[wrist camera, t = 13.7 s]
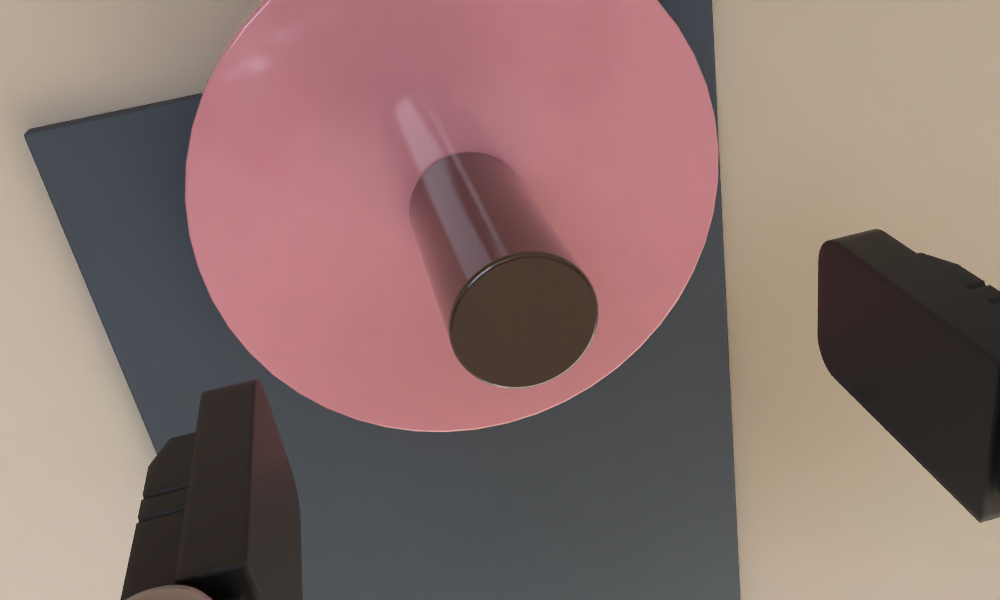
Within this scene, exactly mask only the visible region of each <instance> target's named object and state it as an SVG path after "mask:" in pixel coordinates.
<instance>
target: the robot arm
mask: <svg viewBox="0 0 1000 600" xmlns="http://www.w3.org/2000/svg"><path fill="white" fill-rule="evenodd" d="M818 343H819V348H820V352H821V355H822V358H823V361H824V363H825V365H826V367H827V369H828V371H829V372H830V373H831V375H832V376H833V377H834V378H835V379H836V380H837V381H838V382H839V383H840V384H841V385H842V386H843V387H844V388H845V389H846V390H847V391H848V392H849V393H850V394H851V395H852V396H853V397H854V398H855V399H856V400H857V401H858V402H859V403H860V404H861V405H862V406H863V407H864V408H865V409H866V410H867V411H868V412H869V413H870V414H871V415H872V416H873V417H874V418H875V419H876V420H877V421H878V422H879V423H880V424H881V425H882V426H883V427H884V428H885V429H886V430H887V431H888V432H889V433H890V434H891V435H892V436H893V437H894V438H895V439H896V440H897V441H898V442H899V443H900V444H901V445H902V446H903V447H904V448H905V449H906V450H907V451H908V452H909V453H910V454H911V455H912V456H913V457H914V458H915V459H916V460H917V461H918V462H919V463H920V464H921V465H922V466H923V467H924V468H925V469H926V470H927V471H928V472H929V473H930V474H931V475H932V476H933V477H934V478H935V479H936V480H937V481H938V482H939V483H940V484H941V485H942V486H943V487H944V488H945V489H946V490H947V491H948V492H949V493H950V494H951V495H952V496H953V497H954V498H955V499H957V500H958V501H959V502H960V503H961V504H962V505H963V506H964V507H965V508H966V509H967V510H968V511H969V512H970V513H971V514H972V515H973V516H974V517H975V518H976V519H977V520H978V521H979V522H980V523H981V522H984V521H988V520H991V519H995V518H998V517H1000V291H998V290H997V289H995V288H994V287H992V286H990V285H988V286H986V285H985V282H984V281H983V280H981V279H980V278H978V277H976V276H975V275H973V274H972V273H970V272H969V271H967V270H966V269H964V268H962V267H961V266H959V265H958V264H955V263H952V262H948V261H945V260H942V259H939V258H936V257H933V256H930V255H926V254H923V253H918V254H917V253H915V252H914V251H912V250H911V249H909V248H908V247H906V246H905V245H903V244H902V243H900V242H899V241H897V240H896V239H894V238H893V237H891V236H890V235H888V234H887V233H885V232H884V231H882V230H879V229H873V230H869V231H865V232H861V233H857V234H853V235H849V236H845V237H841V238H837V239H833V240H828V241H826V242H825V243H824V244H823V245H822V247H821V249H820V252H819V260H818ZM143 497H144V499H143V500H141V505H140V510H139V515H138V519H139V523H137V524H136V529H135V534H134V539H133V543H132V548H131V553H130V558H129V562H128V567H127V572H126V577H125V581H124V586H123V591H122V596H121V600H303V590H302V553H301V516H300V506H299V499H298V493H297V489H296V484H295V480H294V476H293V473H292V469H291V466H290V463H289V460H288V457H287V455H286V452H285V449H284V446H283V443H282V440H281V437H280V434H279V431H278V428H277V425H276V422H275V419H274V416H273V413H272V410H271V407H270V404H269V401H268V398H267V396H266V393H265V390H264V388H263V386H262V384H261V382H260V380H259V379H254V380H250V381H246V382H242V383H238V384H234V385H230V386H226V387H222V388H218V389H213V390H209V391H205V392H203V393H202V395H201V399H200V406H199V413H198V420H197V427H196V432H193V433H189V434H185V435H181V436H177V437H173V438H170V439H169V440H168V441H167V443H166V444H165V445H164V447H163V448H162V449H161V451H160V452H159V453H158V455H157V456H156V457H155V459H154V460H153V461H152V463H151V464H150V465H149V467H148V472H147V477H146V481H145V486H144V491H143Z"/></svg>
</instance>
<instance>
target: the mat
mask: <svg viewBox="0 0 1000 600" xmlns="http://www.w3.org/2000/svg"><path fill="white" fill-rule="evenodd" d="M658 1H659V2H660V4H661V5H662V6H663V7H664V9H665V10H666V11H667V13H668V14H669V15H670V16H671V18H672V19H673V20H674V21H675V23H676V24H677V25H678V27H679V29H680V30H681V32H682V34H683V36H684V37H685V39H686V41H687V42H688V44H689V46H690V47H691V49H692V51H693V53H694V55H695V57H696V59H697V62H698V64H699V67H700V69H701V72H702V74H703V77H704V79H705V81H706V84H707V87H708V91H709V95H710V99H711V103H712V107H713V111H714V115H715V122H716V130H717V139H718V119H717V98H716V77H715V56H714V35H713V14H712V0H658ZM202 94H203V93H201V94H196V95H191V96H186V97H181V98H177V99H172V100H167V101H162V102H157V103H153V104H148V105H143V106H138V107H133V108H129V109H124V110H119V111H114V112H109V113H105V114H100V115H95V116H90V117H85V118H81V119H76V120H71V121H66V122H61V123H57V124H52V125H47V126H42V127H37V128H33V129H29V130H28V131H27V132H26V133H25V134H24V137H25V139H26V142H27V144H28V146H29V149H30V151H31V154H32V156H33V158H34V161H35V163H36V166H37V168H38V170H39V173H40V175H41V178H42V180H43V182H44V185H45V187H46V190H47V192H48V194H49V197H50V199H51V202H52V204H53V206H54V209H55V211H56V213H57V216H58V218H59V221H60V223H61V225H62V228H63V230H64V233H65V235H66V237H67V240H68V242H69V245H70V247H71V249H72V252H73V254H74V257H75V259H76V261H77V264H78V266H79V269H80V271H81V273H82V276H83V278H84V280H85V283H86V285H87V288H88V290H89V292H90V295H91V297H92V300H93V302H94V304H95V307H96V309H97V312H98V314H99V316H100V319H101V321H102V324H103V326H104V328H105V331H106V333H107V336H108V338H109V340H110V343H111V345H112V347H113V350H114V352H115V355H116V357H117V359H118V362H119V364H120V367H121V369H122V371H123V374H124V376H125V379H126V381H127V383H128V386H129V388H130V391H131V393H132V395H133V398H134V400H135V403H136V405H137V407H138V410H139V412H140V414H141V417H142V419H143V422H144V424H145V426H146V429H147V431H148V434H149V436H150V438H151V441H152V443H153V446H154V448H155V450H156V453H157V455H158V453H159V452H160V451H161V449H162V448H163V447H164V445H165V444H166V443H167V441H168V440H169V439H170V438H173V437H177V436H181V435H185V434H189V433H193V432H196V427H197V420H198V413H199V406H200V399H201V395H202V393H203V392H205V391H209V390H213V389H218V388H222V387H226V386H230V385H234V384H238V383H242V382H246V381H250V380H254V379H259V380H260V382H261V384H262V386H263V388H264V390H265V393H266V396H267V398H268V401H269V404H270V407H271V410H272V413H273V416H274V419H275V422H276V425H277V428H278V431H279V434H280V437H281V440H282V443H283V446H284V449H285V452H286V455H287V457H288V460H289V463H290V466H291V469H292V473H293V476H294V480H295V484H296V489H297V493H298V499H299V506H300V516H301V553H302V590H303V600H740V583H739V562H738V541H737V520H736V499H735V478H734V456H733V435H732V414H731V393H730V372H729V351H728V330H727V309H726V288H725V267H724V246H723V225H722V204H721V182H720V161H719V158H718V186H717V193H716V199H715V206H714V213H713V217H712V220H711V224H710V228H709V231H708V235H707V239H706V242H705V245H704V247H703V250H702V252H701V255H700V257H699V260H698V262H697V265H696V267H695V270H694V272H693V274H692V276H691V277H690V279H689V281H688V283H687V285H686V287H685V288H684V290H683V292H682V294H681V296H680V297H679V299H678V301H677V302H676V304H675V305H674V306H673V308H672V309H671V311H670V312H669V313H668V315H667V316H666V318H665V319H664V320H663V322H662V323H661V325H660V326H659V327H658V328H657V329H656V330H655V331H654V333H653V334H652V335H651V336H650V337H649V338H648V339H647V340H646V341H645V343H644V344H643V345H642V346H641V347H640V348H639V349H638V350H637V351H636V352H635V353H634V354H632V355H631V356H630V357H629V358H628V359H627V360H626V361H625V362H624V363H622V364H621V365H620V366H619V367H618V368H617V369H615V370H614V371H613V372H611V373H610V374H609V375H607V376H606V377H604V378H603V379H602V380H600V381H599V382H597V383H596V384H595V385H593V386H592V387H590V388H588V389H587V390H585V391H583V392H581V393H580V394H578V395H576V396H574V397H573V398H571V399H569V400H567V401H566V402H564V403H561V404H559V405H557V406H554V407H552V408H550V409H547V410H545V411H543V412H541V413H538V414H536V415H532V416H529V417H526V418H523V419H520V420H517V421H513V422H510V423H507V424H502V425H497V426H492V427H487V428H482V429H476V430H464V431H453V432H423V431H410V430H403V429H395V428H388V427H383V426H379V425H375V424H371V423H367V422H364V421H360V420H356V419H353V418H351V417H348V416H345V415H343V414H340V413H338V412H335V411H333V410H330V409H327V408H325V407H323V406H322V405H320V404H318V403H316V402H314V401H312V400H310V399H309V398H307V397H305V396H303V395H301V394H299V393H298V392H296V391H295V390H294V389H292V388H291V387H289V386H288V385H287V384H285V383H284V382H282V381H281V380H280V379H278V378H277V377H275V376H274V375H273V374H272V373H271V372H269V371H268V370H267V369H266V368H265V367H264V366H263V365H262V364H261V363H260V362H259V361H258V360H257V359H256V358H255V357H253V356H252V355H251V354H250V353H249V352H248V351H247V349H246V348H245V347H244V346H243V344H242V343H241V342H240V341H239V340H238V338H237V337H236V336H235V335H234V333H233V332H232V331H231V330H230V328H229V327H228V326H227V324H226V322H225V321H224V319H223V317H222V316H221V314H220V313H219V311H218V309H217V308H216V306H215V304H214V303H213V301H212V299H211V297H210V295H209V293H208V290H207V288H206V286H205V283H204V281H203V279H202V277H201V274H200V272H199V270H198V267H197V263H196V259H195V256H194V252H193V248H192V245H191V241H190V237H189V232H188V224H187V216H186V207H185V164H186V158H187V152H188V146H189V140H190V134H191V129H192V125H193V122H194V119H195V116H196V113H197V110H198V106H199V103H200V100H201V97H202ZM718 148H719V140H718Z"/></svg>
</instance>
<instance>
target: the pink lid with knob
mask: <svg viewBox="0 0 1000 600" xmlns="http://www.w3.org/2000/svg"><path fill="white" fill-rule="evenodd" d="M718 158H719V148H718V139H717V130H716V122H715V115H714V111H713V107H712V103H711V99H710V95H709V91H708V87H707V84H706V81H705V79H704V77H703V74H702V72H701V69H700V67H699V64H698V62H697V59H696V57H695V55H694V53H693V51H692V49H691V47H690V46H689V44H688V42H687V41H686V39H685V37H684V36H683V34H682V32H681V30H680V29H679V27H678V25H677V24H676V23H675V21H674V20H673V19H672V18H671V16H670V15H669V14H668V13H667V11H666V10H665V9H664V7H663V6H662V5H661V4H660V2H659V1H658V0H262V1H261V2H260V3H259V4H258V5H257V6H256V7H255V8H254V9H253V11H252V12H251V13H250V14H249V15H248V16H247V17H246V18H245V19H244V20H243V22H242V23H241V25H240V26H239V28H238V29H237V31H236V32H235V34H234V35H233V37H232V38H231V39H230V41H229V42H228V44H227V45H226V47H225V48H224V50H223V51H222V53H221V55H220V57H219V59H218V61H217V63H216V65H215V67H214V69H213V71H212V73H211V75H210V77H209V79H208V81H207V83H206V85H205V88H204V91H203V94H202V97H201V100H200V103H199V106H198V110H197V113H196V116H195V119H194V122H193V125H192V129H191V134H190V140H189V146H188V152H187V158H186V164H185V207H186V216H187V224H188V232H189V237H190V241H191V245H192V248H193V252H194V256H195V259H196V263H197V267H198V270H199V272H200V274H201V277H202V279H203V281H204V283H205V286H206V288H207V290H208V293H209V295H210V297H211V299H212V301H213V303H214V304H215V306H216V308H217V309H218V311H219V313H220V314H221V316H222V317H223V319H224V321H225V322H226V324H227V326H228V327H229V328H230V330H231V331H232V332H233V333H234V335H235V336H236V337H237V338H238V340H239V341H240V342H241V343H242V344H243V346H244V347H245V348H246V349H247V351H248V352H249V353H250V354H251V355H252V356H253V357H255V358H256V359H257V360H258V361H259V362H260V363H261V364H262V365H263V366H264V367H265V368H266V369H267V370H268V371H269V372H271V373H272V374H273V375H274V376H275V377H277V378H278V379H280V380H281V381H282V382H284V383H285V384H287V385H288V386H289V387H291V388H292V389H294V390H295V391H296V392H298V393H299V394H301V395H303V396H305V397H307V398H309V399H310V400H312V401H314V402H316V403H318V404H320V405H322V406H323V407H325V408H327V409H330V410H333V411H335V412H338V413H340V414H343V415H345V416H348V417H351V418H353V419H356V420H360V421H364V422H367V423H371V424H375V425H379V426H383V427H388V428H395V429H403V430H410V431H423V432H453V431H464V430H476V429H482V428H487V427H492V426H497V425H502V424H507V423H510V422H513V421H517V420H520V419H523V418H526V417H529V416H532V415H536V414H538V413H541V412H543V411H545V410H547V409H550V408H552V407H554V406H557V405H559V404H561V403H564V402H566V401H567V400H569V399H571V398H573V397H574V396H576V395H578V394H580V393H581V392H583V391H585V390H587V389H588V388H590V387H592V386H593V385H595V384H596V383H597V382H599V381H600V380H602V379H603V378H604V377H606V376H607V375H609V374H610V373H611V372H613V371H614V370H615V369H617V368H618V367H619V366H620V365H621V364H622V363H624V362H625V361H626V360H627V359H628V358H629V357H630V356H631V355H632V354H634V353H635V352H636V351H637V350H638V349H639V348H640V347H641V346H642V345H643V344H644V343H645V341H646V340H647V339H648V338H649V337H650V336H651V335H652V334H653V333H654V331H655V330H656V329H657V328H658V327H659V326H660V325H661V323H662V322H663V320H664V319H665V318H666V316H667V315H668V313H669V312H670V311H671V309H672V308H673V306H674V305H675V304H676V302H677V301H678V299H679V297H680V296H681V294H682V292H683V290H684V288H685V287H686V285H687V283H688V281H689V279H690V277H691V276H692V274H693V272H694V270H695V267H696V265H697V262H698V260H699V257H700V255H701V252H702V250H703V247H704V245H705V242H706V239H707V235H708V231H709V228H710V224H711V220H712V217H713V213H714V206H715V199H716V193H717V186H718Z"/></svg>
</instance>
